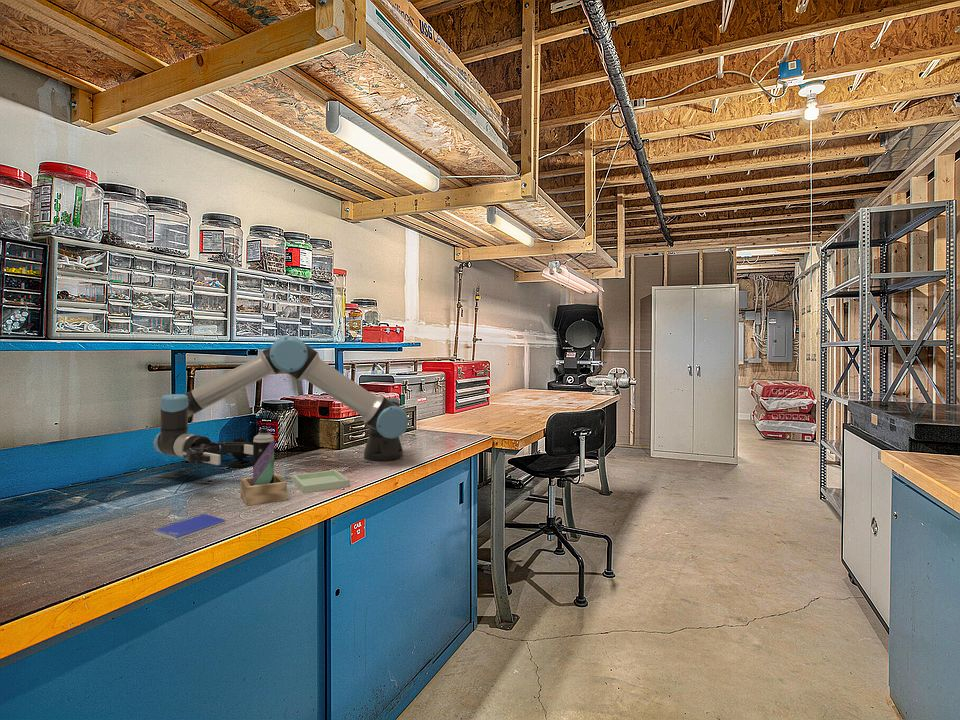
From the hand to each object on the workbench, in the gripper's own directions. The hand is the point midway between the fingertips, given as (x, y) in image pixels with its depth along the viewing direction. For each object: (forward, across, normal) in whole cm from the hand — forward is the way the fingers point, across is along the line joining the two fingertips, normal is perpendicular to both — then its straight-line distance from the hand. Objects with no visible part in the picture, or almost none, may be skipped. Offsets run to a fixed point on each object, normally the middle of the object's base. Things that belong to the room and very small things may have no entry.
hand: (240, 455), depth 148 cm
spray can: (+10, 0, -11) cm, 15 cm away
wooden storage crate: (+10, 0, -11) cm, 15 cm away
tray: (+14, -19, -11) cm, 25 cm away
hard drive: (+14, +25, -12) cm, 31 cm away
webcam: (-27, -21, -11) cm, 36 cm away
